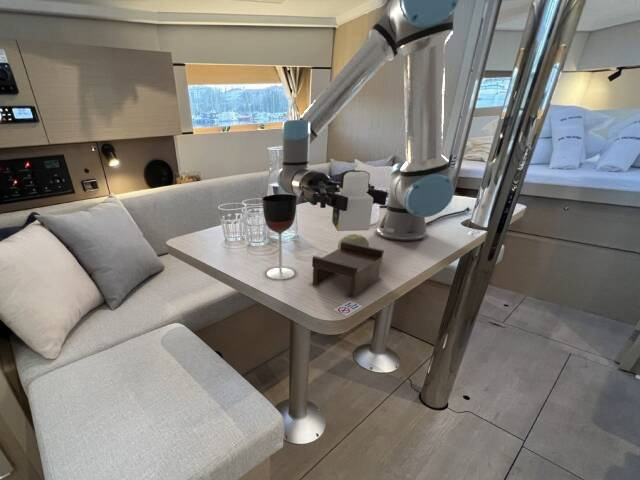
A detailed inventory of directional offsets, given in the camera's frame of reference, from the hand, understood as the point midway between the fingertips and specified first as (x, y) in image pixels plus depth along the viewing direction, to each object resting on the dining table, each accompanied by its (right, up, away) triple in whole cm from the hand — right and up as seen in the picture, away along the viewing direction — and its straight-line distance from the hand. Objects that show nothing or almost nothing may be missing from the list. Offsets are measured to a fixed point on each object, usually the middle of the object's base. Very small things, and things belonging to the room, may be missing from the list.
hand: (365, 201), depth 66 cm
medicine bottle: (-1, -4, +7) cm, 8 cm away
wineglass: (-16, -14, +19) cm, 29 cm away
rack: (0, -16, +13) cm, 21 cm away
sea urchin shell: (+7, -6, +31) cm, 33 cm away
